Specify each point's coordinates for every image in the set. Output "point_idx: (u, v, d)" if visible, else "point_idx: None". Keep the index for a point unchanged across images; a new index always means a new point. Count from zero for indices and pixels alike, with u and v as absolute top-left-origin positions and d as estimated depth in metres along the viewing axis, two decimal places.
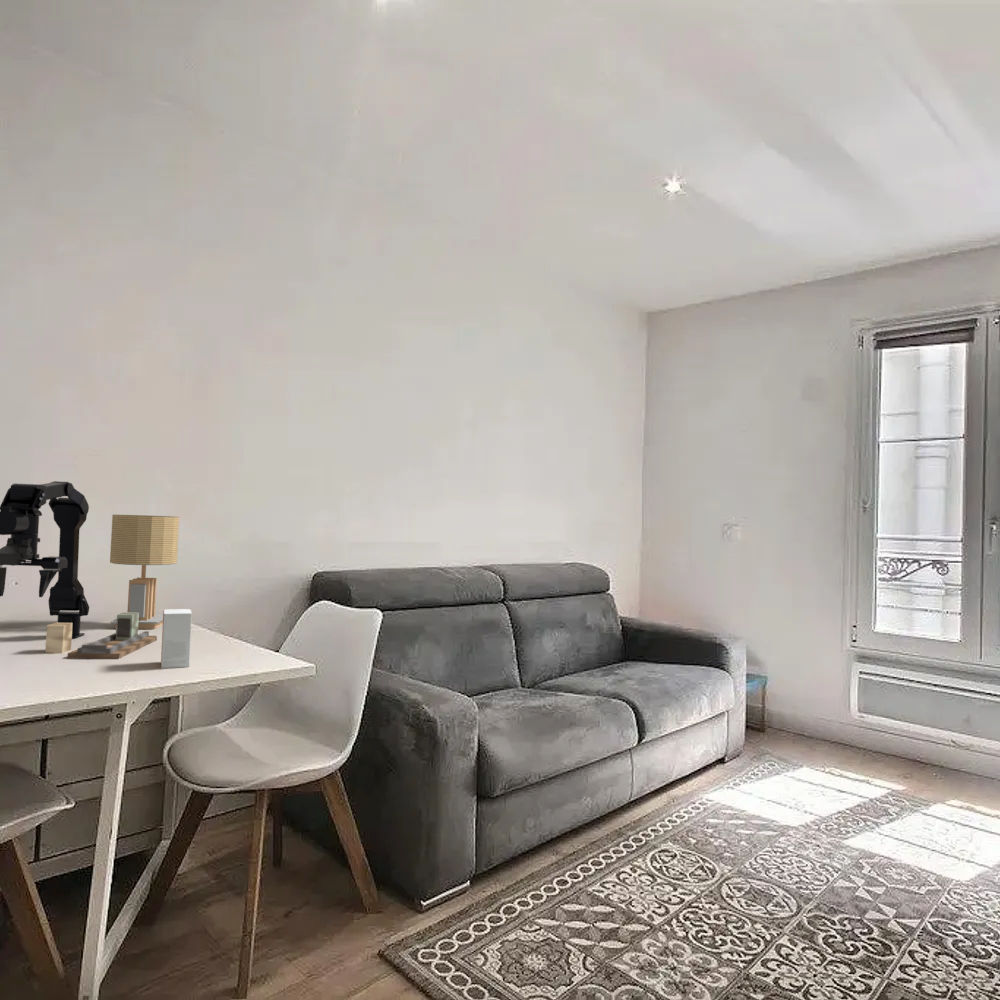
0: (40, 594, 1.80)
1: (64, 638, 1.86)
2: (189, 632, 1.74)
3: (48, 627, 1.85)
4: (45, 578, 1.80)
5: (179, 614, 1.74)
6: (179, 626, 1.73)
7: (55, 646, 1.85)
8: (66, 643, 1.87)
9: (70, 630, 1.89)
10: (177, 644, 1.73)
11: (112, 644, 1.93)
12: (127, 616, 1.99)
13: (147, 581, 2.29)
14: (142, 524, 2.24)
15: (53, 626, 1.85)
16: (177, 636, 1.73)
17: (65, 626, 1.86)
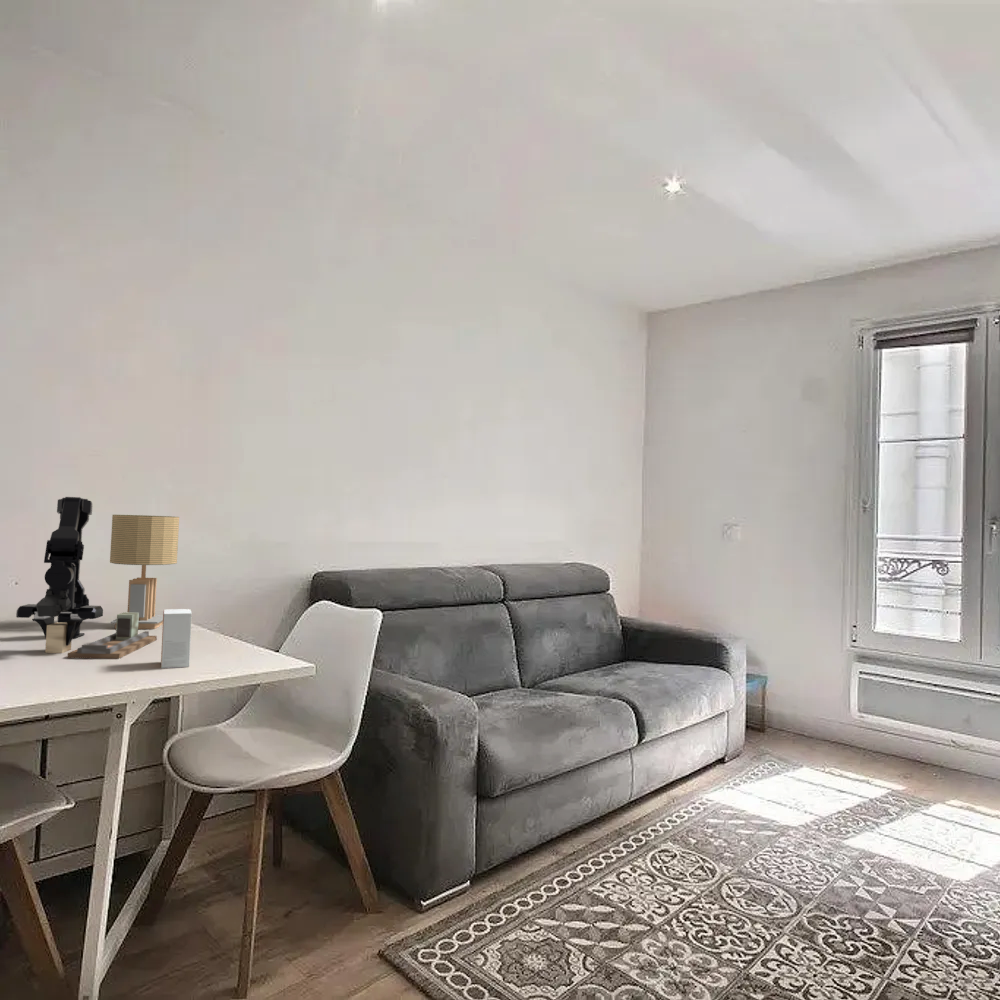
0: (67, 642, 1.87)
1: (64, 638, 1.86)
2: (189, 632, 1.74)
3: (48, 627, 1.84)
4: (72, 627, 1.86)
5: (179, 614, 1.74)
6: (179, 626, 1.73)
7: (55, 646, 1.85)
8: None
9: None
10: (177, 644, 1.73)
11: (112, 644, 1.93)
12: (127, 616, 1.99)
13: (147, 581, 2.29)
14: (142, 524, 2.24)
15: (53, 626, 1.85)
16: (177, 636, 1.73)
17: (65, 626, 1.86)
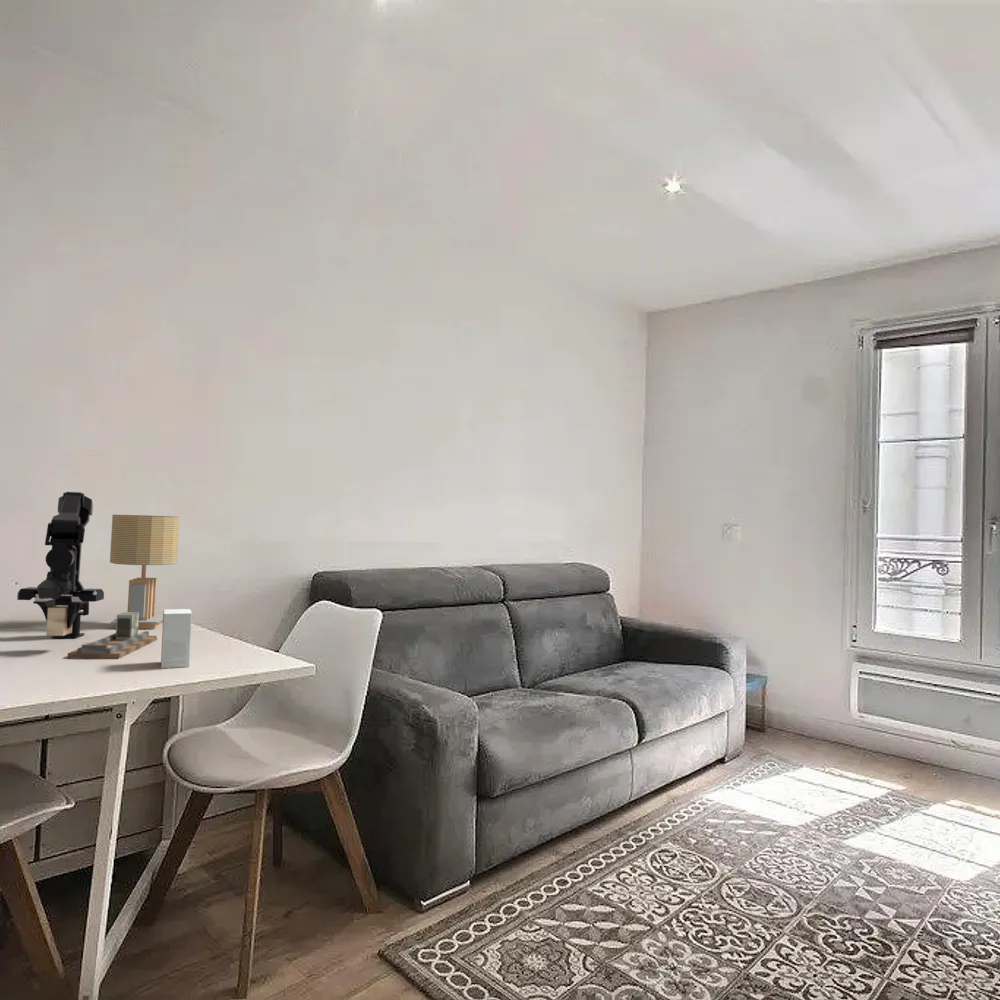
0: (68, 625, 1.87)
1: (65, 621, 1.86)
2: (189, 632, 1.74)
3: (49, 610, 1.85)
4: (73, 610, 1.86)
5: (179, 614, 1.74)
6: (179, 626, 1.73)
7: (56, 628, 1.85)
8: None
9: None
10: (177, 644, 1.73)
11: (112, 644, 1.93)
12: (127, 616, 1.99)
13: (147, 581, 2.29)
14: (142, 524, 2.24)
15: (54, 608, 1.85)
16: (177, 636, 1.73)
17: (66, 609, 1.86)
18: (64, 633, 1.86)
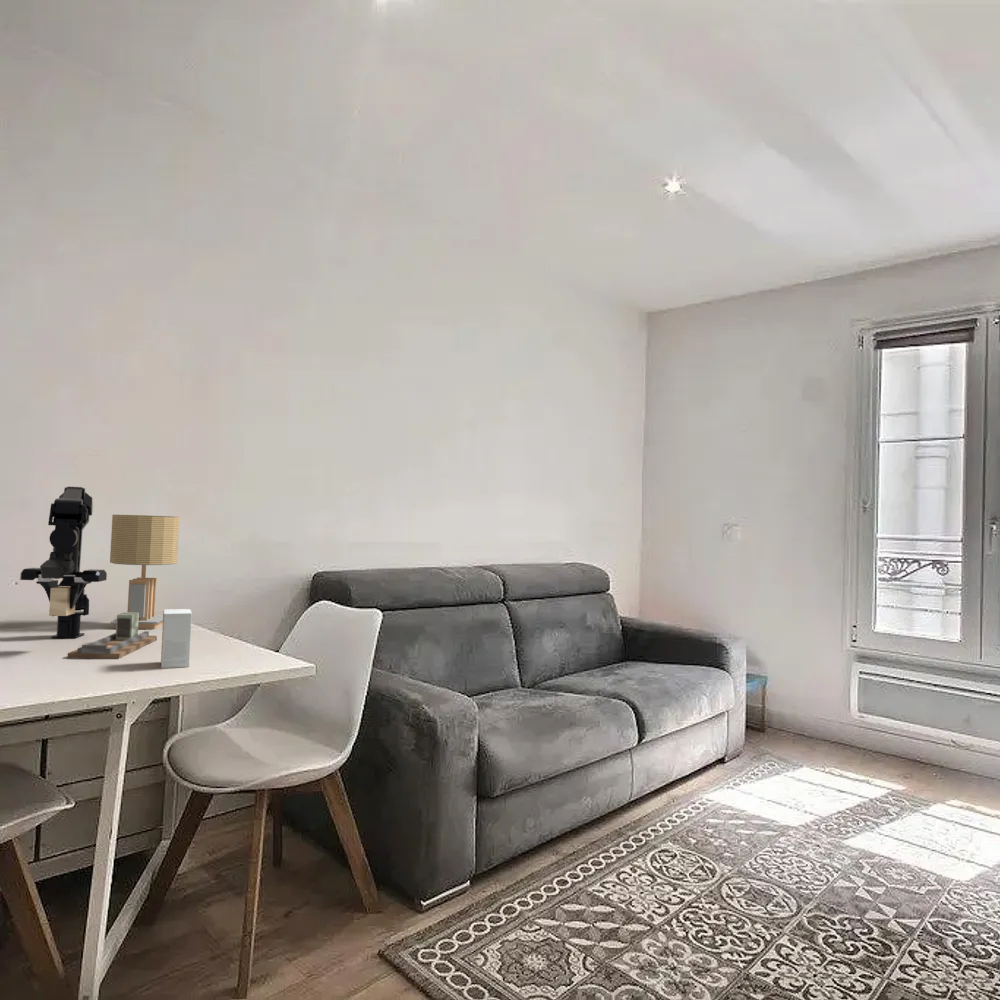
0: (71, 606, 1.87)
1: (68, 601, 1.86)
2: (189, 632, 1.74)
3: (51, 590, 1.85)
4: (76, 590, 1.87)
5: (179, 614, 1.74)
6: (179, 626, 1.74)
7: (59, 609, 1.85)
8: None
9: None
10: (177, 644, 1.73)
11: (112, 644, 1.93)
12: (127, 616, 1.99)
13: (147, 581, 2.29)
14: (142, 524, 2.24)
15: (57, 589, 1.85)
16: (177, 636, 1.73)
17: (69, 589, 1.86)
18: (67, 613, 1.86)
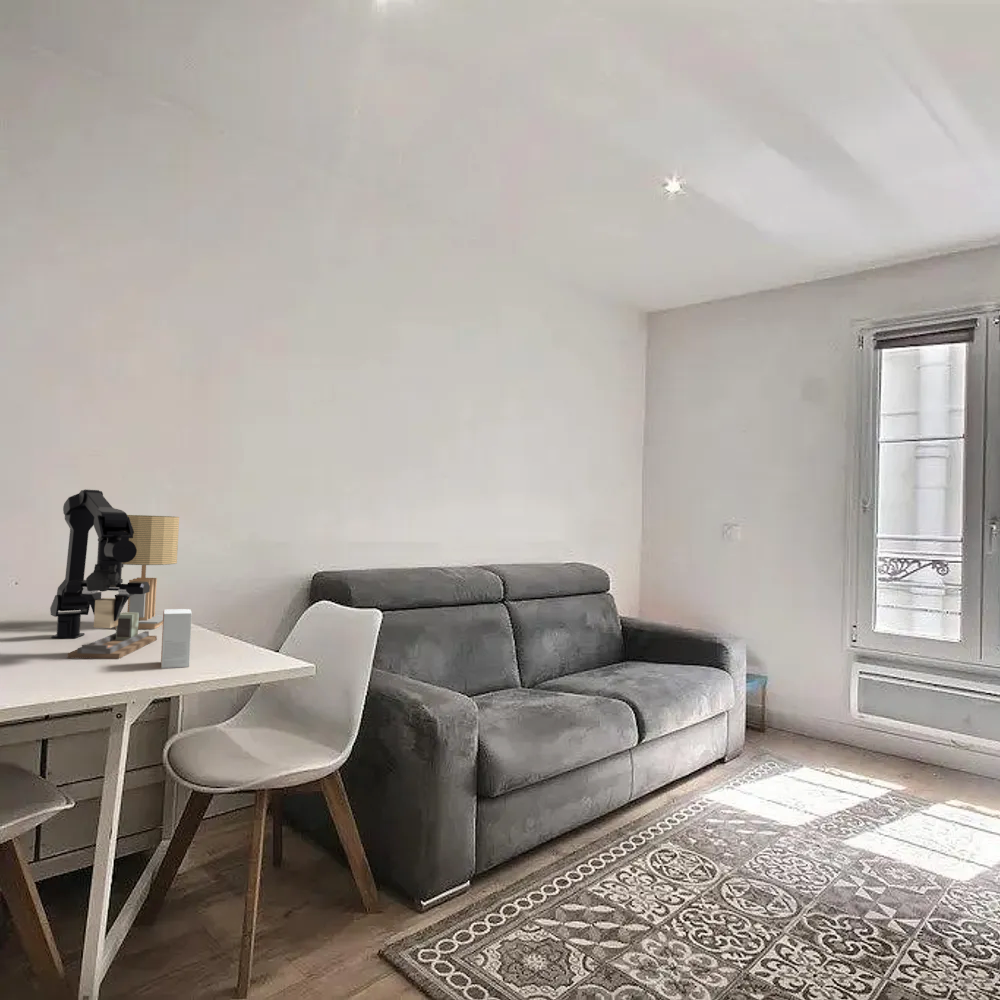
0: (115, 618, 1.87)
1: (112, 613, 1.85)
2: (189, 632, 1.74)
3: (96, 602, 1.84)
4: (120, 602, 1.86)
5: (179, 614, 1.74)
6: (179, 626, 1.73)
7: (104, 621, 1.84)
8: None
9: None
10: (177, 644, 1.73)
11: (112, 644, 1.93)
12: (127, 616, 1.99)
13: (147, 581, 2.29)
14: (142, 524, 2.24)
15: (101, 601, 1.85)
16: (177, 636, 1.73)
17: (113, 601, 1.86)
18: (111, 625, 1.85)
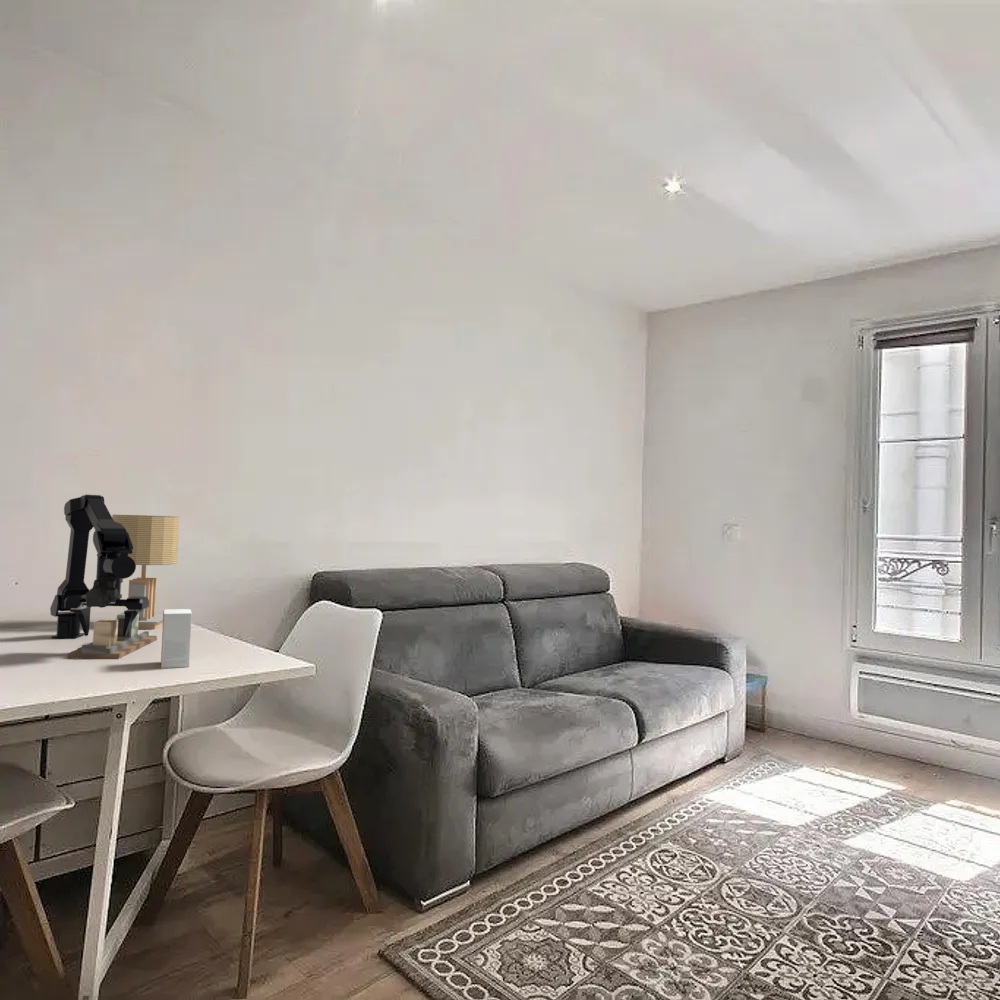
0: (124, 633, 1.87)
1: (111, 635, 1.85)
2: (189, 632, 1.74)
3: (95, 624, 1.84)
4: (129, 618, 1.86)
5: (179, 614, 1.74)
6: (179, 626, 1.73)
7: (103, 643, 1.84)
8: (113, 640, 1.87)
9: (116, 627, 1.89)
10: (177, 644, 1.73)
11: None
12: None
13: (147, 581, 2.29)
14: (142, 524, 2.24)
15: (100, 623, 1.84)
16: (177, 636, 1.73)
17: (112, 623, 1.86)
18: None
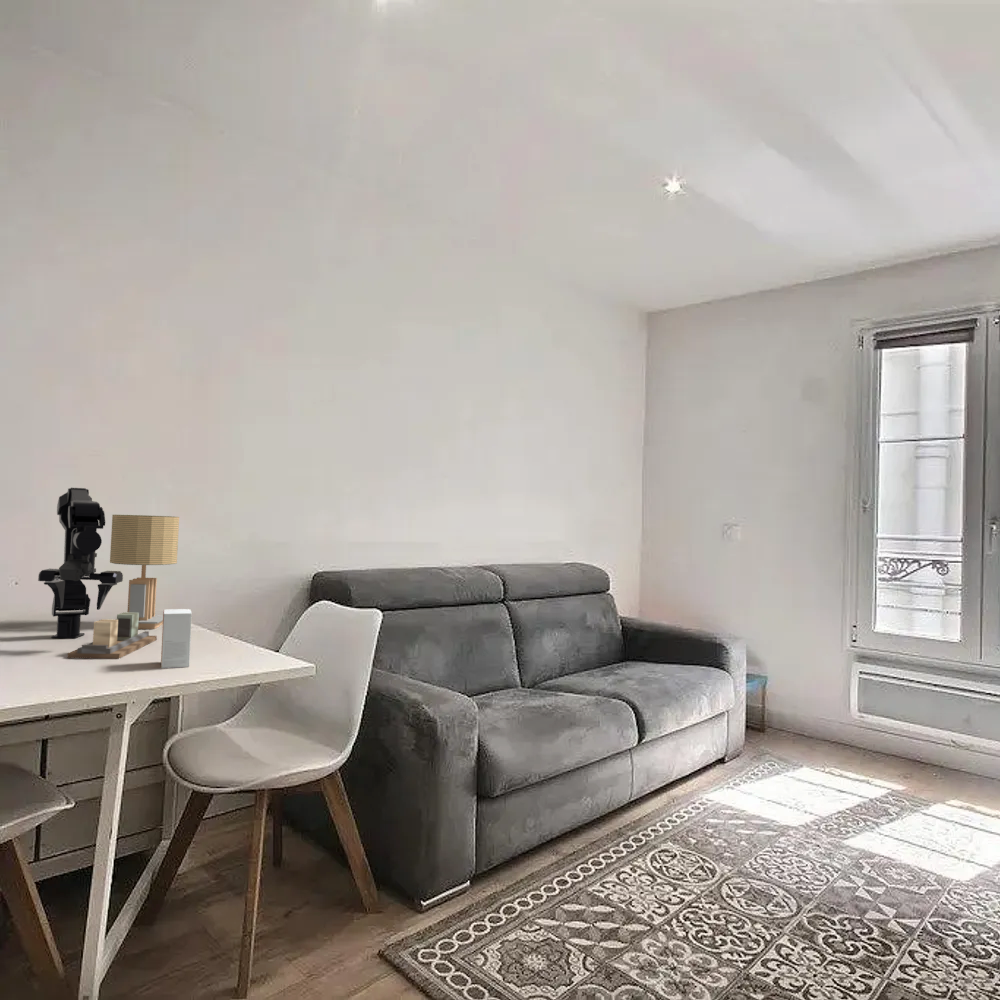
0: (98, 607, 1.91)
1: (111, 635, 1.85)
2: (189, 632, 1.74)
3: (95, 624, 1.84)
4: (103, 592, 1.90)
5: (179, 614, 1.74)
6: (179, 626, 1.73)
7: (103, 643, 1.84)
8: (113, 640, 1.87)
9: (116, 627, 1.89)
10: (177, 644, 1.73)
11: None
12: (127, 616, 1.99)
13: (147, 581, 2.29)
14: (142, 524, 2.24)
15: (100, 623, 1.84)
16: (177, 636, 1.73)
17: (112, 623, 1.86)
18: None
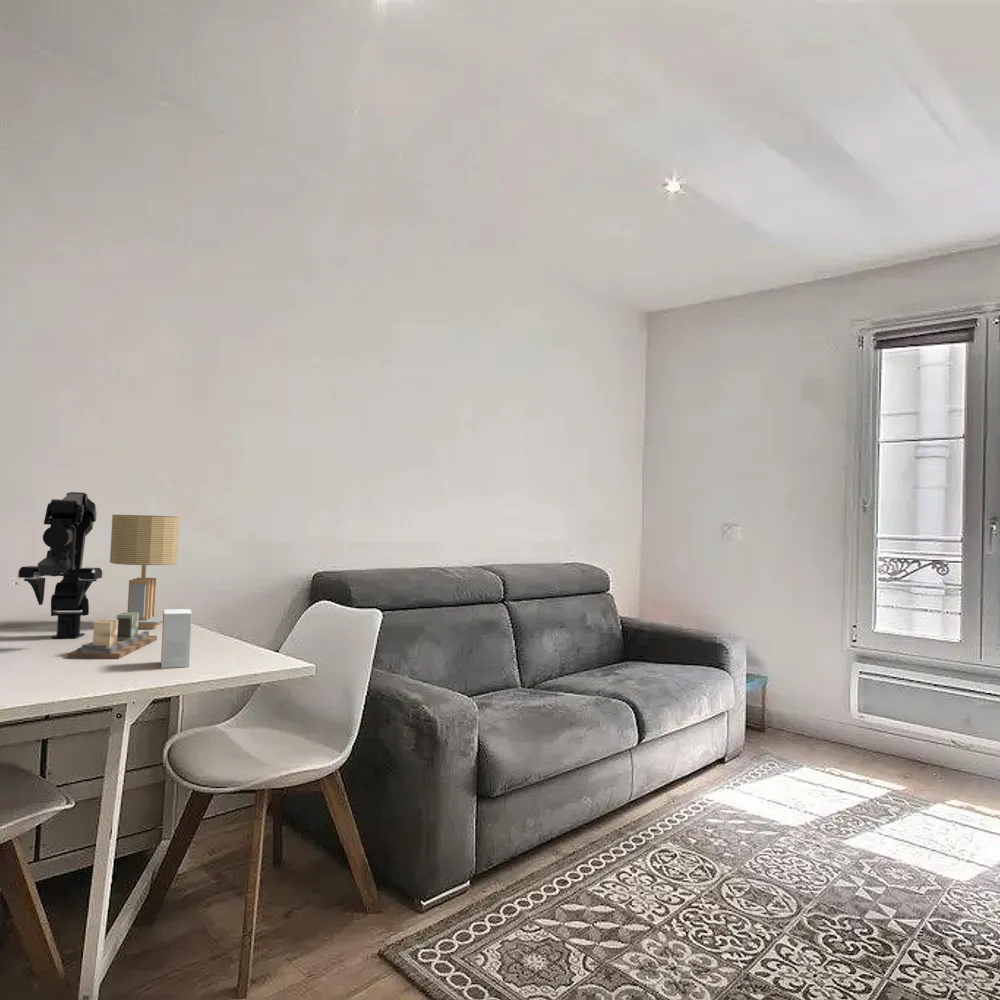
0: (77, 603, 1.93)
1: (111, 635, 1.85)
2: (189, 632, 1.74)
3: (95, 624, 1.84)
4: (82, 588, 1.92)
5: (179, 614, 1.74)
6: (179, 626, 1.73)
7: (103, 643, 1.84)
8: (113, 640, 1.87)
9: (116, 627, 1.89)
10: (177, 644, 1.73)
11: None
12: (127, 616, 1.99)
13: (147, 581, 2.29)
14: (142, 524, 2.24)
15: (100, 623, 1.84)
16: (177, 636, 1.73)
17: (112, 623, 1.86)
18: None
